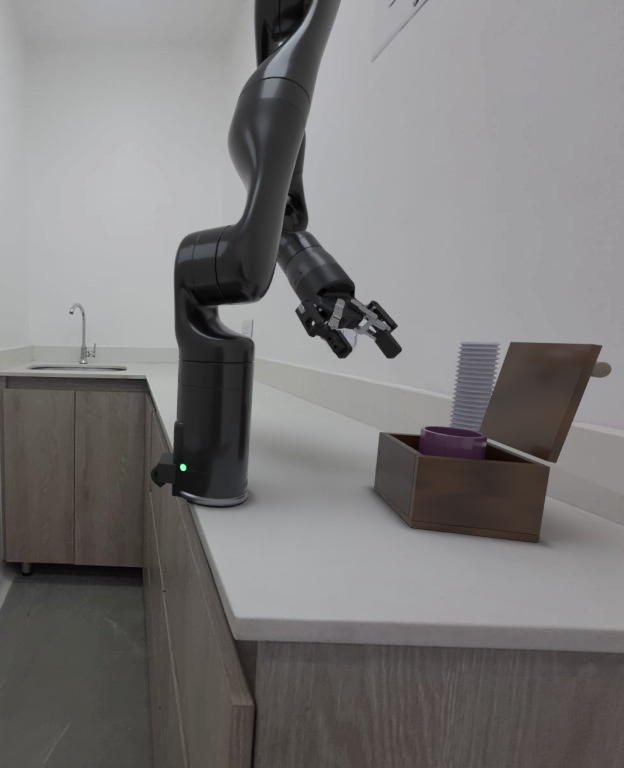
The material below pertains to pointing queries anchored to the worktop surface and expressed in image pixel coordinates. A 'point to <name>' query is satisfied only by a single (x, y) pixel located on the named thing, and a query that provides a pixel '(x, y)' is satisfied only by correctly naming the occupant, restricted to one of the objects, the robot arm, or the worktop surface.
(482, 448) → the cup
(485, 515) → the chest
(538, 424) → the lid
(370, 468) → the worktop surface
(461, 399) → the screw
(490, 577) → the worktop surface
